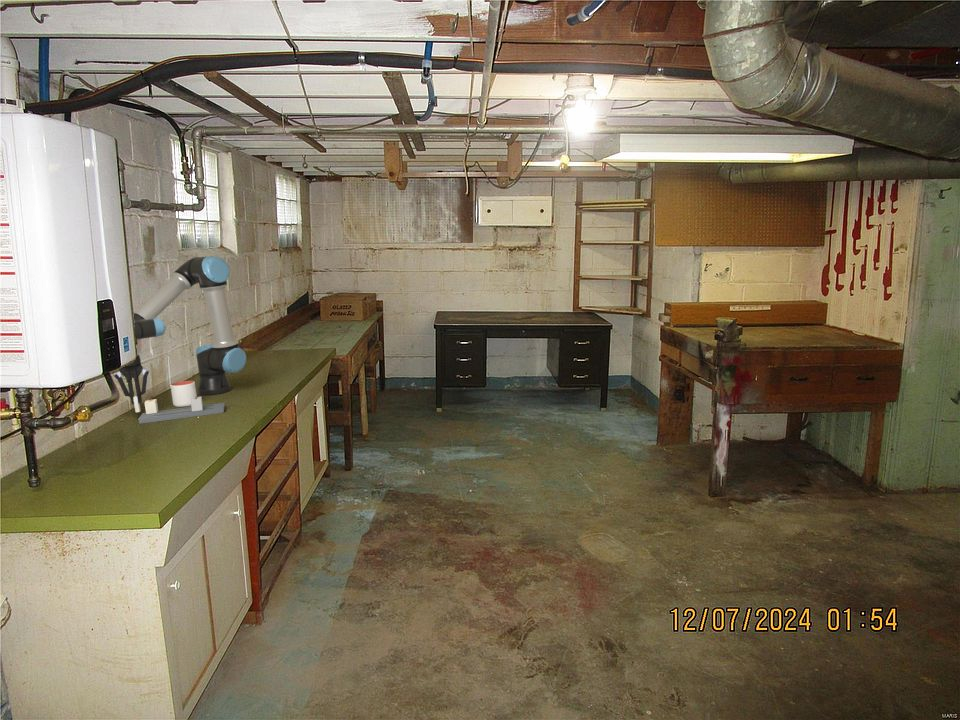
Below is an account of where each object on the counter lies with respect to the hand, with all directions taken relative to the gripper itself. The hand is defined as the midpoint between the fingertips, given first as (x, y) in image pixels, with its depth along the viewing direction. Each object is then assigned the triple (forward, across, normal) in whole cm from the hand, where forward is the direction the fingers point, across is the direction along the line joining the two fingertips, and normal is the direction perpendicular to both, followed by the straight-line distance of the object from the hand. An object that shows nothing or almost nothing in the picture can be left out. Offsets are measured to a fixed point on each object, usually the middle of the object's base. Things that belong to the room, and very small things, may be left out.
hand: (138, 411), depth 265 cm
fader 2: (+1, +23, -6) cm, 24 cm away
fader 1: (+1, +5, 0) cm, 5 cm away
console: (+3, +17, -3) cm, 18 cm away
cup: (+4, +16, +17) cm, 24 cm away
